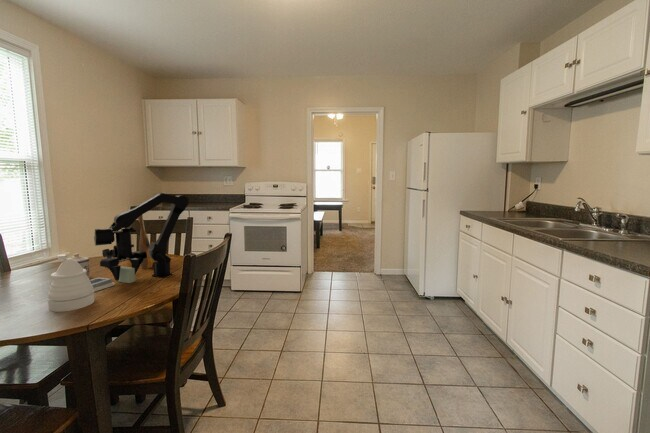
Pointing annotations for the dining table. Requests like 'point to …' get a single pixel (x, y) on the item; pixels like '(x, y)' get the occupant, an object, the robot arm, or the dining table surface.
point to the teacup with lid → (82, 262)
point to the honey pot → (69, 287)
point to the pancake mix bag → (144, 245)
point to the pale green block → (127, 275)
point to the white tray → (101, 283)
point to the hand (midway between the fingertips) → (125, 277)
